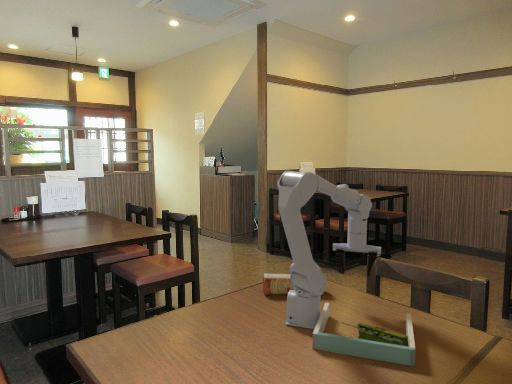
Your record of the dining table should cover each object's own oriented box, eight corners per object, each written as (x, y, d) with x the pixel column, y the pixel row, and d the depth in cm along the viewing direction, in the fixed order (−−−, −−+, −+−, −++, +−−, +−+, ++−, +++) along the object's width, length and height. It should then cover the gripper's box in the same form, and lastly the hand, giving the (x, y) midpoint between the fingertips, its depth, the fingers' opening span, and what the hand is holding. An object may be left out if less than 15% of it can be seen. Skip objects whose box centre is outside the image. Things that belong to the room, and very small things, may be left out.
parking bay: (312, 348, 94) (312, 333, 94) (325, 315, 113) (325, 302, 112) (414, 366, 87) (415, 350, 86) (410, 327, 105) (411, 314, 104)
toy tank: (402, 343, 87) (415, 319, 94) (329, 320, 98) (345, 301, 106) (403, 368, 89) (415, 343, 96) (331, 343, 100) (346, 322, 108)
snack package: (322, 289, 134) (322, 271, 133) (325, 297, 127) (325, 278, 126) (262, 289, 134) (262, 271, 133) (262, 296, 128) (262, 277, 127)
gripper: (381, 230, 118) (380, 272, 120) (335, 227, 123) (334, 267, 124) (381, 235, 111) (379, 280, 113) (332, 232, 116) (331, 274, 118)
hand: (355, 274), depth 118 cm, fingers open, 7 cm apart
